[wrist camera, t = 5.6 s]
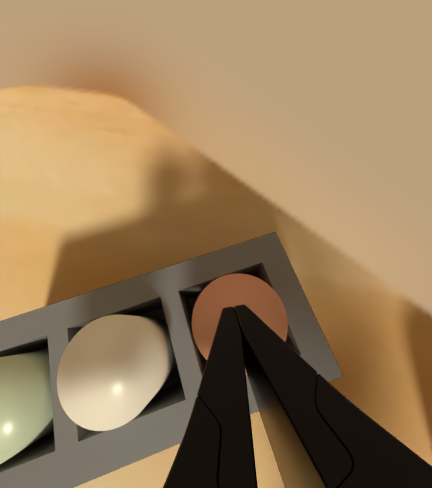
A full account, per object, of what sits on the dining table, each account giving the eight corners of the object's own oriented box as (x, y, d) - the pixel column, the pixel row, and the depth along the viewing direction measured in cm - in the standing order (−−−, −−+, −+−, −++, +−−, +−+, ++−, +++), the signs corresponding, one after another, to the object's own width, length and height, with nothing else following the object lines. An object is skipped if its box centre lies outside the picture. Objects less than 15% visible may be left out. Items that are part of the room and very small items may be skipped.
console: (290, 353, 18) (343, 375, 10) (43, 450, 16) (-113, 564, 8) (254, 264, 21) (275, 231, 13) (37, 338, 19) (-87, 349, 11)
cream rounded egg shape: (186, 379, 13) (171, 406, 9) (114, 406, 13) (61, 449, 8) (168, 307, 14) (148, 301, 10) (102, 330, 14) (52, 333, 10)
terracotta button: (277, 344, 14) (304, 353, 9) (211, 369, 13) (208, 392, 9) (251, 278, 15) (264, 261, 11) (191, 299, 15) (180, 290, 10)
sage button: (98, 408, 14) (45, 447, 10) (26, 436, 13) (-63, 489, 9) (89, 337, 15) (39, 343, 11) (24, 360, 15) (-54, 375, 10)
